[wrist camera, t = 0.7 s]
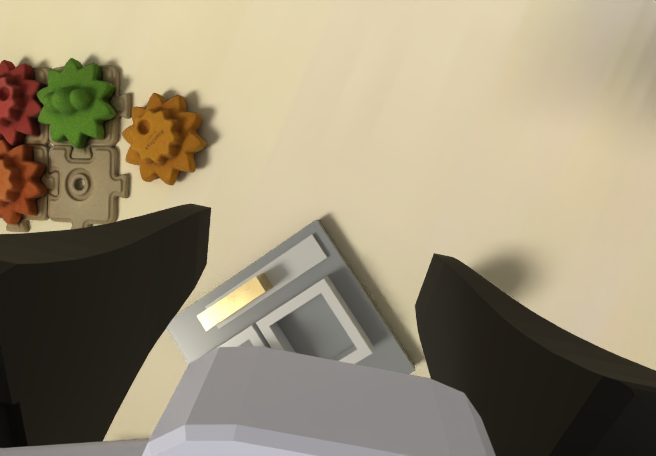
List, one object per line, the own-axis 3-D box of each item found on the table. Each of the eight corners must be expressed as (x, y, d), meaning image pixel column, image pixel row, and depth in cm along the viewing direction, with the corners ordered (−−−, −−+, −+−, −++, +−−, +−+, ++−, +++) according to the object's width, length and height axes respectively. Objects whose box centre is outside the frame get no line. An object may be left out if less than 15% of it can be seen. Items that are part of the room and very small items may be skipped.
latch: (273, 287, 30) (265, 291, 28) (216, 324, 31) (206, 330, 29) (264, 272, 30) (255, 276, 29) (208, 310, 31) (196, 315, 30)
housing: (414, 365, 30) (418, 402, 24) (253, 457, 32) (221, 511, 27) (319, 219, 31) (300, 220, 25) (170, 321, 33) (122, 343, 28)
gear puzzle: (216, 62, 32) (191, 40, 28) (209, 245, 33) (183, 249, 29) (-64, 69, 38) (-118, 51, 34) (-65, 225, 39) (-118, 226, 35)
